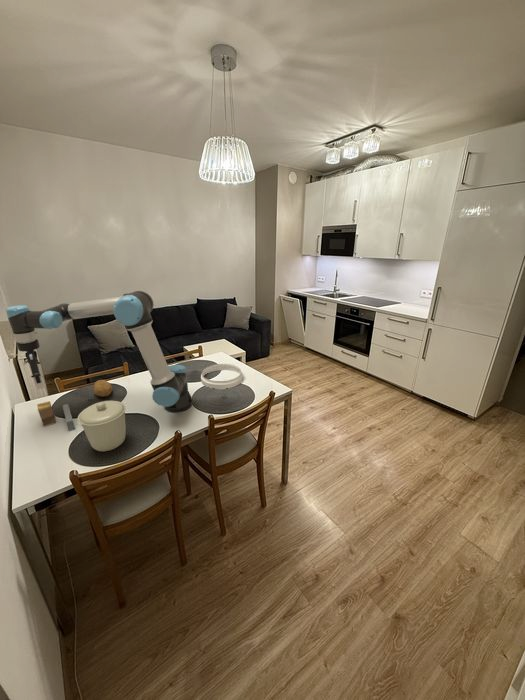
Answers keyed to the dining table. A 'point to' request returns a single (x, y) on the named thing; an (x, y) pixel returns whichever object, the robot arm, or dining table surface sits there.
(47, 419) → the block
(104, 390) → the potato
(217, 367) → the white flat ring
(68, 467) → the dining table surface
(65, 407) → the grey bar
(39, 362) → the robot arm
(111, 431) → the canister
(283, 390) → the dining table surface
